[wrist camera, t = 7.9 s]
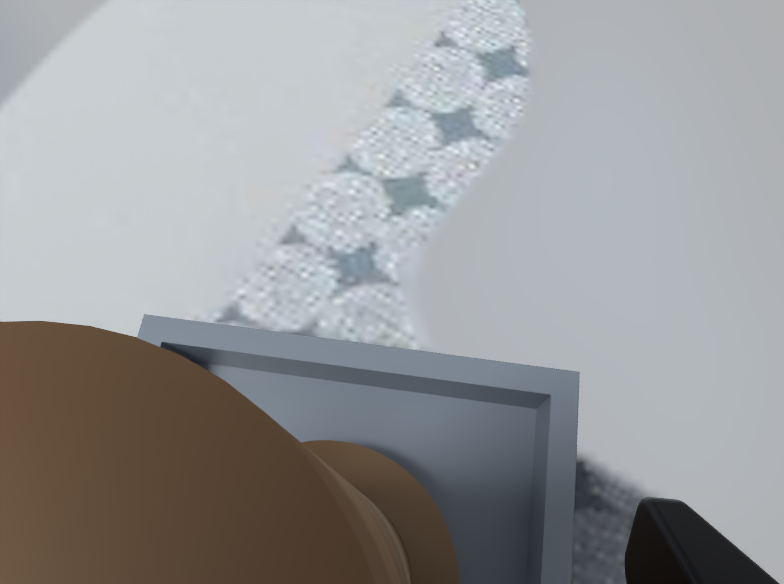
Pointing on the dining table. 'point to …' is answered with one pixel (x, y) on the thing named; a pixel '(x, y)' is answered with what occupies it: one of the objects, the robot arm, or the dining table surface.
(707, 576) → the robot arm
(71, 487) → the walnut handle
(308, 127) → the dining table surface
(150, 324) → the box
